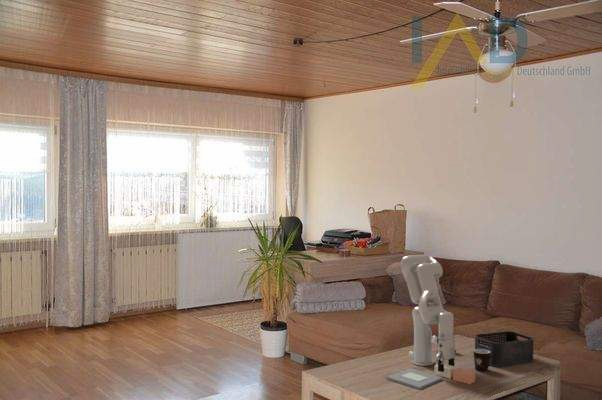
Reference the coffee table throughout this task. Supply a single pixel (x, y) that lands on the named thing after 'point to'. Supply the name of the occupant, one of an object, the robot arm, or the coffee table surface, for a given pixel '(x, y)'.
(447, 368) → the cream block
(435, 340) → the giant panda
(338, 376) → the coffee table surface
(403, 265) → the robot arm
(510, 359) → the storage bin
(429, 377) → the build board
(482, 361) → the coffee mug
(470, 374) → the terracotta block
